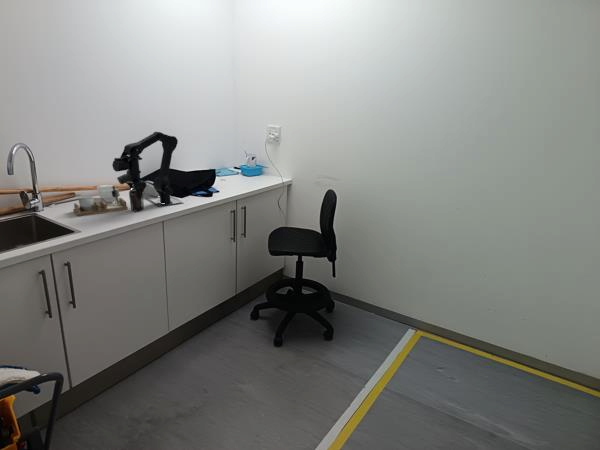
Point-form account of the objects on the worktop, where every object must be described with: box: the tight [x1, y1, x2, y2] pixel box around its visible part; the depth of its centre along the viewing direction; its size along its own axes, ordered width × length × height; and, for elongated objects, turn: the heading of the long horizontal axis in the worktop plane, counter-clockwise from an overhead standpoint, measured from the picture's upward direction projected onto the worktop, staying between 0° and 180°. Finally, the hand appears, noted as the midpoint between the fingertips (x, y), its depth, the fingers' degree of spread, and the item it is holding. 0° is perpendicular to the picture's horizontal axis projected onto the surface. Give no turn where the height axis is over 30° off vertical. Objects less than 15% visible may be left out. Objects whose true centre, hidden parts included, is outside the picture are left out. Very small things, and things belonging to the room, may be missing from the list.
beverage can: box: [128, 188, 145, 212], centre depth 220 cm, size 7×7×12 cm
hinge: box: [143, 180, 160, 198], centre depth 252 cm, size 17×5×10 cm, turn 52°
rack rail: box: [72, 196, 129, 217], centre depth 218 cm, size 10×25×8 cm, turn 129°
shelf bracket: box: [96, 184, 121, 204], centre depth 234 cm, size 6×25×13 cm, turn 44°
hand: (136, 197), depth 220 cm, fingers open, 9 cm apart
